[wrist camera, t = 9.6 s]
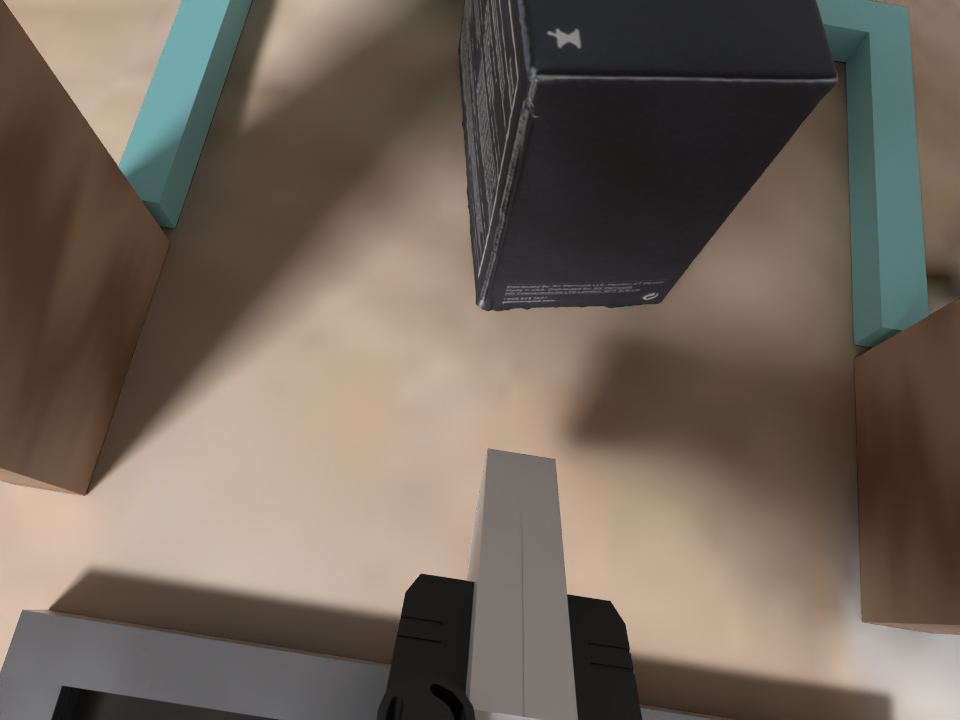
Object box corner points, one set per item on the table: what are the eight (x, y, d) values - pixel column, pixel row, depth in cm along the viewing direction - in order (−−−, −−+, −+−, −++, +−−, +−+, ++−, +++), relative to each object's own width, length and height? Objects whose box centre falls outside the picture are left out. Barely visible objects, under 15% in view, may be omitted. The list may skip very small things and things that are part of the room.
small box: (675, 309, 23) (865, 84, 13) (474, 317, 22) (514, 86, 12) (629, 46, 26) (753, -289, 17) (454, 46, 26) (474, -302, 16)
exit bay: (236, -78, 27) (226, -117, 25) (883, 38, 27) (908, 7, 26) (127, 220, 22) (108, 194, 21) (899, 351, 23) (930, 335, 22)
